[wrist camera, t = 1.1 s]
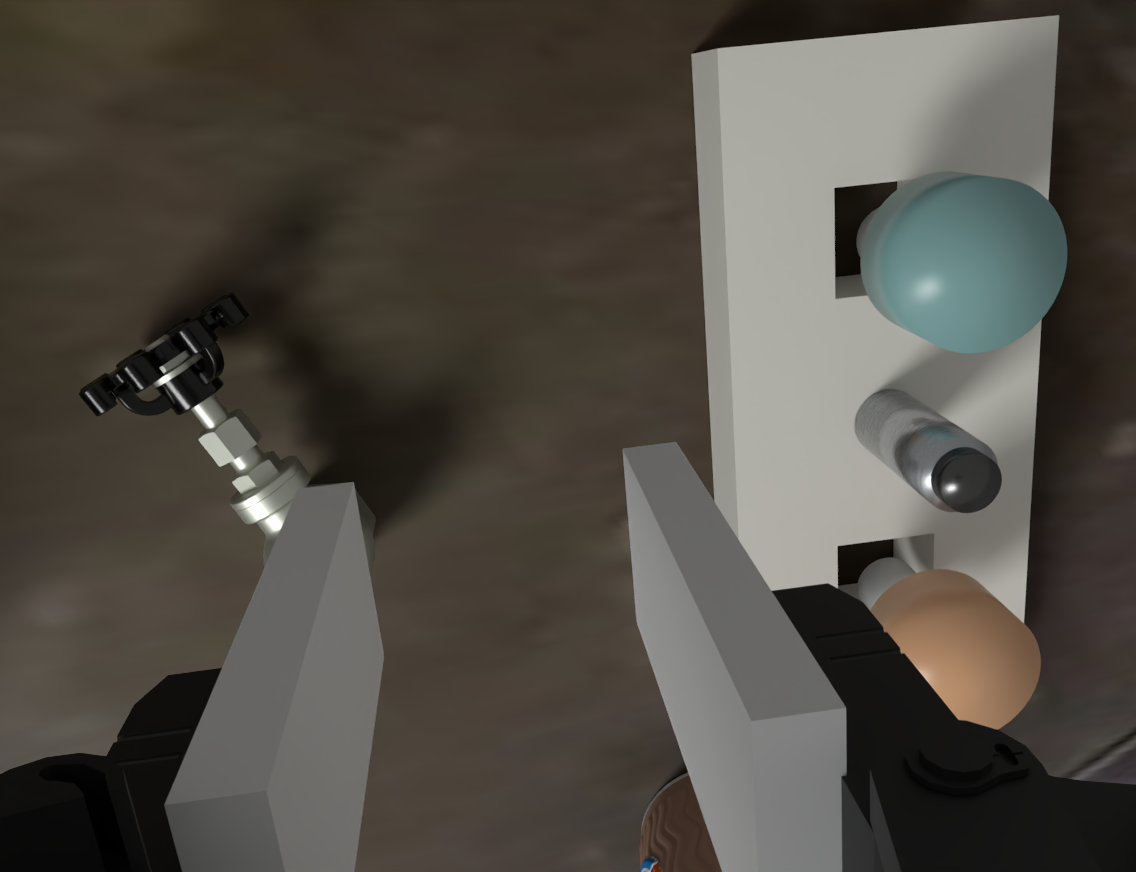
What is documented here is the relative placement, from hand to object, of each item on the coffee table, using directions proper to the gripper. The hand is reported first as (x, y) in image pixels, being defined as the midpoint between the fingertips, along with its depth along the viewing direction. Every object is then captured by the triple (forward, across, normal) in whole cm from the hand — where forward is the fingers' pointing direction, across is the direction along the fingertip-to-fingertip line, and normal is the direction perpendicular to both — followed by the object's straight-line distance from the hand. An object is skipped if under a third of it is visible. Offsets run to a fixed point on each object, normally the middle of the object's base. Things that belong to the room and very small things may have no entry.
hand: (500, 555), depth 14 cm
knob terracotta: (+23, +15, -14) cm, 31 cm away
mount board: (+27, +15, -7) cm, 31 cm away
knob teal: (+23, +15, 0) cm, 27 cm away
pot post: (+23, +15, -7) cm, 28 cm away
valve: (+27, -9, -6) cm, 29 cm away
